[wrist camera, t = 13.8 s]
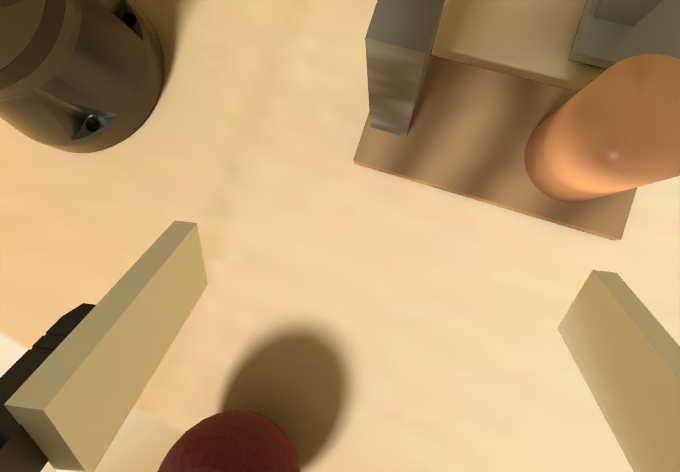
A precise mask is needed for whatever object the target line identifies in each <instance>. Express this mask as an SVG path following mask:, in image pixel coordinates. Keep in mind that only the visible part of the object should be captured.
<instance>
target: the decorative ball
mask: <svg viewBox="0 0 680 472" xmlns="http://www.w3.org/2000/svg"><path fill="white" fill-rule="evenodd" d="M158 472H300V470H299V465H298V460H297V456H296V453H295V451H294V448H293V446H292V444H291V443H290V441H289V439H288V438H287V436H286V435H285V434H284V433H283V431H282V430H281V429H280V428H279V427H278V426H277V425H276V424H274V423H273V422H272V421H270V420H269V419H267V418H265V417H263V416H261V415H259V414H256V413H252V412H248V411H228V412H223V413H219V414H215V415H213V416H211V417H208V418H206V419H204V420H202V421H201V422H199V423H198V424H196V425H195V426H193V427H192V428H191V429H189V430H188V431H186V432H185V433H184V434H183V435H182V436H181V438H180V439H179V440H178V441H177V442H176V443H175V444H174V445H173V447H172V448H171V449H170V450H169V452H168V453H167V455H166V457H165V458H164V460H163V461H162V464H161V466H160V468H159V470H158Z"/></svg>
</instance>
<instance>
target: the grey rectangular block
mask: <svg viewBox="0 0 680 472" xmlns="http://www.w3.org/2000/svg"><path fill="white" fill-rule="evenodd" d="M644 54H661V55H667V56H671V57H675V58H678V59H680V0H587V3H586V6H585V9H584V12H583V15H582V19H581V22H580V25H579V28H578V31H577V34H576V38H575V41H574V44H573V47H572V50H571V54H570V57H569V60H573V61H577V62H581V63H585V64H590V65H594V66H598V67H602V68H606V69H608V68H609V67H610V66H612V65H614V64H615V63H617V62H619V61H621V60H624V59H626V58H630V57H633V56H638V55H644Z"/></svg>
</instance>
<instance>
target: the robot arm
mask: <svg viewBox="0 0 680 472" xmlns="http://www.w3.org/2000/svg"><path fill="white" fill-rule="evenodd" d="M163 71H164V62H163V53H162V48H161V44H160V41H159V38H158V36H157V34H156V32H155V30H154V28H153V26H152V25H151V23H150V22H149V21H148V20H147V18H146V17H145V16H144V15H143V14H142V13H141V12H140V11H139V10H138V9H137V8H136V7H135V6H134V5H133V4H132V3H131V2H130V1H129V0H0V117H1V118H2V119H4V120H5V121H6V122H8V123H9V124H10V125H12V126H13V127H14V128H16V129H17V130H18V131H20V132H21V133H23V134H24V135H26V136H27V137H29V138H31V139H33V140H35V141H37V142H40V143H43V144H45V145H48V146H51V147H54V148H57V149H60V150H64V151H68V152H74V153H90V152H96V151H100V150H104V149H107V148H109V147H112V146H114V145H116V144H118V143H120V142H121V141H123V140H124V139H126V138H127V137H129V136H130V135H131V134H132V133H133V132H135V131H136V130H137V129H138V128H139V127H140V126H141V124H142V123H143V122H144V121H145V119H146V118H147V117H148V115H149V114H150V112H151V111H152V109H153V107H154V105H155V103H156V101H157V98H158V95H159V93H160V89H161V85H162V80H163ZM207 285H208V284H207V279H206V273H205V267H204V261H203V255H202V249H201V244H200V238H199V232H198V226H197V223H191V222H182V221H174V222H173V223H172V224H171V225H170V226H169V227H168V229H167V230H166V231H165V232H164V233H163V234H162V235H161V236H160V237H159V238H158V239H157V240H156V241H155V243H154V244H153V245H152V246H151V247H150V248H149V249H148V250H147V251H146V252H145V253H144V254H143V255H142V257H141V258H140V259H139V260H138V261H137V262H136V263H135V264H134V265H133V266H132V267H131V268H130V269H129V271H128V272H127V273H126V274H125V275H124V276H123V277H122V278H121V279H120V280H119V281H118V282H117V283H116V285H115V286H114V287H113V288H112V289H111V290H110V291H109V292H108V293H107V294H106V295H105V296H104V297H103V298H102V300H101V301H100V302H99V303H98V304H97V305H93V304H85V303H83V304H82V305H80V306H78V307H77V308H75V309H73V310H72V311H70V312H68V313H67V314H65V315H64V316H62V317H61V318H60V319H59V320H58V321H57V322H56V323H55V324H54V325H53V326H52V327H51V328H50V329H49V330H48V331H47V332H46V335H45V336H42V337H41V338H40V339H39V340H38V341H37V342H36V343H35V344H34V345H33V347H32V349H31V350H28V351H27V352H26V353H25V354H24V355H23V356H22V357H21V358H20V359H19V360H18V361H17V362H16V363H15V364H14V365H13V366H12V367H11V368H10V369H9V370H8V371H7V372H6V373H5V374H4V375H3V376H2V377H1V378H0V472H40V471H41V470H42V469H43V467H44V466H45V464H46V463H47V462H48V461H49V463H50V464H51V465H52V466H53V468H54V469H55V470H56V472H94V470H95V469H96V467H97V465H98V464H99V462H100V461H101V459H102V457H103V455H104V454H105V452H106V451H107V449H108V447H109V446H110V444H111V442H112V441H113V439H114V437H115V436H116V434H117V432H118V431H119V429H120V428H121V426H122V424H123V423H124V421H125V419H126V418H127V416H128V414H129V412H130V411H131V410H132V408H133V406H134V405H135V403H136V401H137V400H138V398H139V396H140V395H141V393H142V391H143V390H144V388H145V387H146V385H147V383H148V382H149V380H150V378H151V377H152V375H153V373H154V372H155V370H156V368H157V367H158V365H159V363H160V362H161V360H162V359H163V357H164V355H165V354H166V352H167V350H168V349H169V347H170V345H171V344H172V342H173V340H174V339H175V337H176V336H177V334H178V332H179V331H180V329H181V327H182V326H183V324H184V322H185V321H186V319H187V317H188V316H189V314H190V313H191V311H192V309H193V308H194V306H195V304H196V303H197V301H198V299H199V298H200V296H201V294H202V293H203V291H204V289H205V288H206V286H207ZM558 330H559V332H560V334H561V336H562V338H563V340H564V342H565V344H566V345H567V347H568V349H569V351H570V353H571V355H572V357H573V359H574V360H575V362H576V364H577V366H578V368H579V370H580V372H581V374H582V375H583V377H584V379H585V381H586V383H587V385H588V387H589V389H590V390H591V392H592V394H593V396H594V398H595V400H596V402H597V404H598V406H599V407H600V409H601V411H602V413H603V415H604V417H605V419H606V421H607V422H608V424H609V426H610V428H611V430H612V432H613V434H614V436H615V437H616V439H617V441H618V443H619V445H620V447H621V449H622V451H623V452H624V454H625V456H626V458H627V460H628V462H629V464H630V466H631V468H632V469H633V471H634V472H680V346H679V345H678V344H677V343H676V342H675V341H674V339H673V338H672V337H671V336H670V335H669V334H668V332H667V331H666V330H665V329H664V328H663V327H662V325H661V324H660V323H659V322H658V321H657V320H656V318H655V317H654V316H653V315H652V314H651V312H650V311H649V310H648V309H647V308H646V307H645V305H644V304H643V303H642V302H641V301H640V300H639V298H638V297H637V296H636V295H635V294H634V293H633V291H632V290H631V289H630V288H629V287H628V286H627V284H626V283H625V282H624V281H623V280H622V279H621V277H620V276H619V275H618V274H617V273H613V272H605V271H596V270H592V272H591V273H590V275H589V277H588V278H587V280H586V282H585V283H584V285H583V287H582V288H581V290H580V292H579V293H578V295H577V297H576V298H575V300H574V302H573V303H572V305H571V306H570V308H569V310H568V311H567V313H566V315H565V316H564V318H563V320H562V321H561V323H560V325H559V326H558Z"/></svg>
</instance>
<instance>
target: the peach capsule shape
mask: <svg viewBox="0 0 680 472" xmlns="http://www.w3.org/2000/svg"><path fill="white" fill-rule="evenodd" d="M524 162H525V167H526V171H527V173H528V176H529V178H530V179H531V181H532V182H533V184H534V185H535V186H536V187H537V188H538V189H539V190H540V191H541V192H542V193H544V194H545V195H547V196H549V197H551V198H553V199H555V200H558V201H563V202H570V203H578V202H584V201H588V200H592V199H595V198H599V197H603V196H606V195H610V194H614V193H617V192H621V191H625V190H629V189H632V188H636V187H640V186H643V185H647V184H651V183H654V182H658V181H662V180H665V179H669V178H673V177H676V176H679V175H680V59H678V58H675V57H671V56H667V55H661V54H644V55H638V56H633V57H630V58H626V59H624V60H621V61H619V62H617V63H615V64H614V65H612V66H610V67H609V68H608V69H606V70H605V71H604V72H603V73H601V74H600V75H599V76H598V77H597V78H595V79H594V80H593V81H592V82H590V83H589V84H588V85H587V86H586V87H584V88H583V89H582V90H581V91H580V92H578V93H577V94H576V95H575V96H574V97H572V98H571V99H570V100H569V101H567V102H566V103H565V104H564V105H563V106H561V107H560V108H559V109H558V110H557V111H555V112H554V113H553V114H552V115H551V116H549V117H548V118H547V119H546V120H544V121H543V122H542V123H541V124H540V125H539V126H538V127H537V128H536V129H535V130H534V131H533V132H532V134H531V135H530V137H529V139H528V141H527V144H526V148H525V154H524Z"/></svg>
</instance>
